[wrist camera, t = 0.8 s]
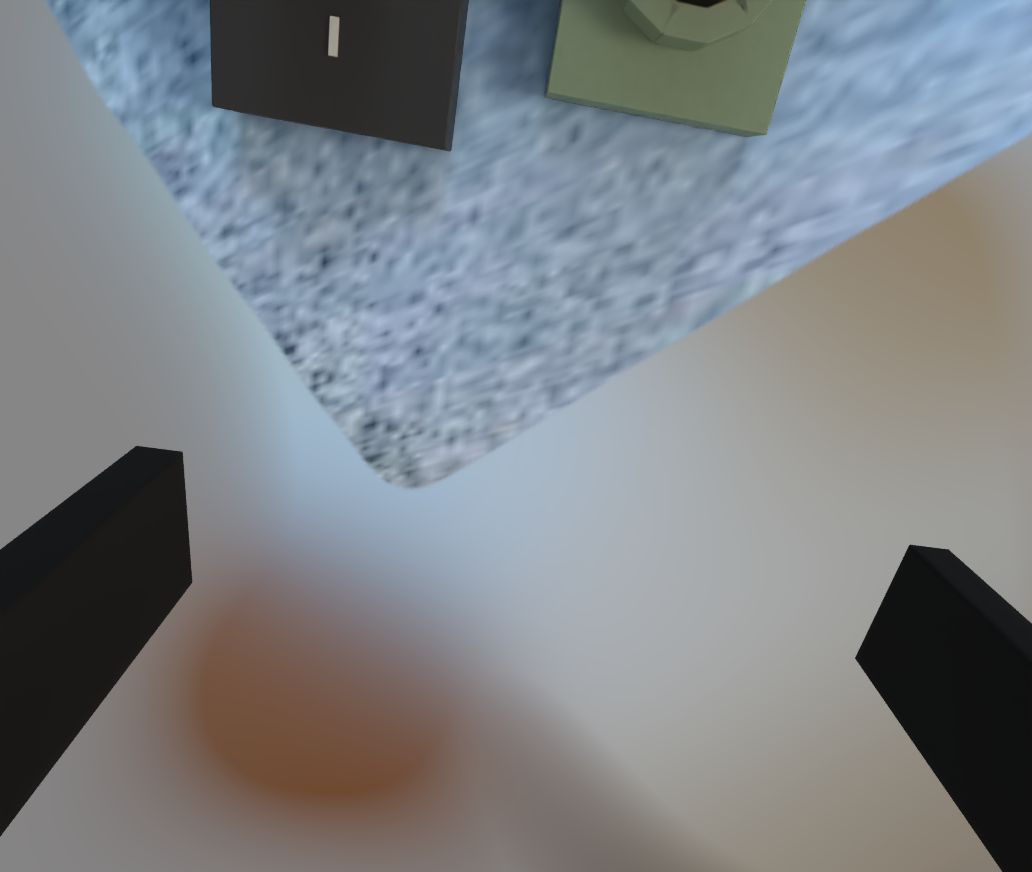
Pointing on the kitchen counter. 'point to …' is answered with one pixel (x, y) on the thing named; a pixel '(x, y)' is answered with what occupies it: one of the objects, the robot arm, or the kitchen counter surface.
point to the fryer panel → (342, 64)
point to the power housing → (676, 59)
